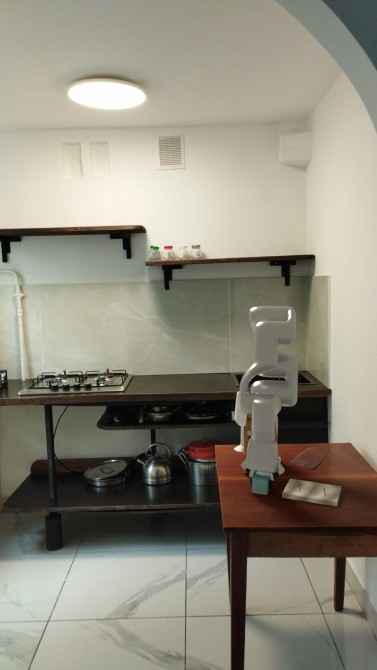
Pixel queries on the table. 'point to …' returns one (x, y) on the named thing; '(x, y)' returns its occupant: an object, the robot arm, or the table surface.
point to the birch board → (312, 492)
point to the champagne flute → (240, 422)
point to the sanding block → (260, 482)
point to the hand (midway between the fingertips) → (262, 488)
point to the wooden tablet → (310, 457)
